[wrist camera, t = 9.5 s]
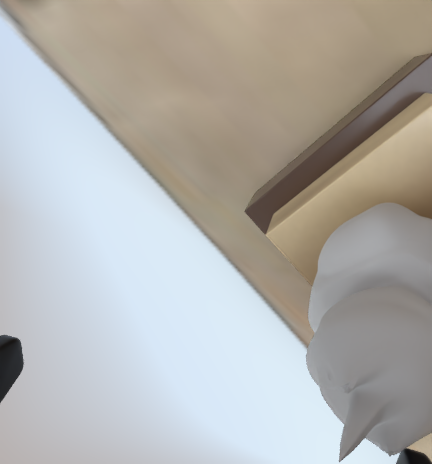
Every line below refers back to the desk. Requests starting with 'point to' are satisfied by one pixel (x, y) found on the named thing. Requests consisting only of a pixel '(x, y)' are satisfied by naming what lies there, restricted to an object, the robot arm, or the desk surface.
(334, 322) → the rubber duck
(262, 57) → the desk surface
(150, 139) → the desk surface
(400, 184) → the memo paper holder
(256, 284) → the desk surface
